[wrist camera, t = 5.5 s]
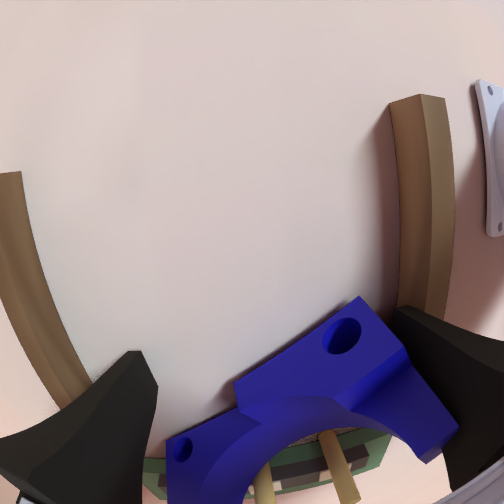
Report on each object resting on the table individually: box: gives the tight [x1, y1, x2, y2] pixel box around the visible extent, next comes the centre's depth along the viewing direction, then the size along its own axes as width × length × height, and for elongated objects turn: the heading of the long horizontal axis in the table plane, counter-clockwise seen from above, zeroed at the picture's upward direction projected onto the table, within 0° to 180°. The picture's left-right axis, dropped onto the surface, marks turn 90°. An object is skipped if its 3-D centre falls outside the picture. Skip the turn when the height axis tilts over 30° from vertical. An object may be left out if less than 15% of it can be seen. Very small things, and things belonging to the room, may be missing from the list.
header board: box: [142, 428, 392, 504], centre depth 11 cm, size 16×6×5 cm, turn 98°
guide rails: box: [0, 94, 455, 410], centre depth 9 cm, size 17×15×2 cm
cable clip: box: [166, 296, 459, 504], centre depth 9 cm, size 12×4×6 cm, turn 128°
